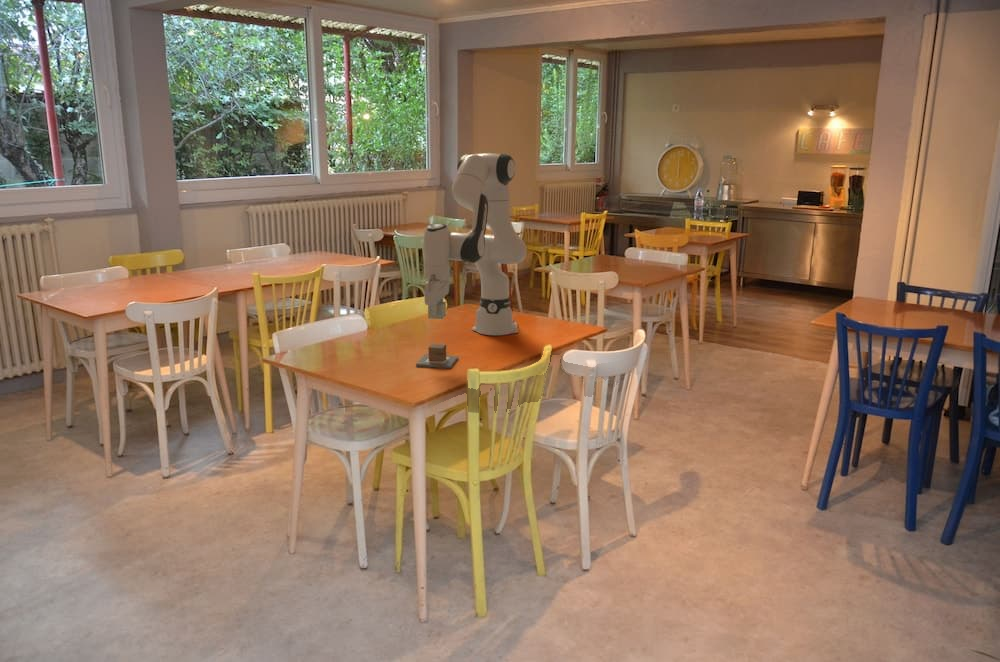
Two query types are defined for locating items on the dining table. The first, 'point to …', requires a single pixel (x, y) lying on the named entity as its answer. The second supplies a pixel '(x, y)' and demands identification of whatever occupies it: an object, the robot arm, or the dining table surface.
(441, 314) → the sage block
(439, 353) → the walnut block
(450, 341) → the dining table surface
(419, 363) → the base plate
